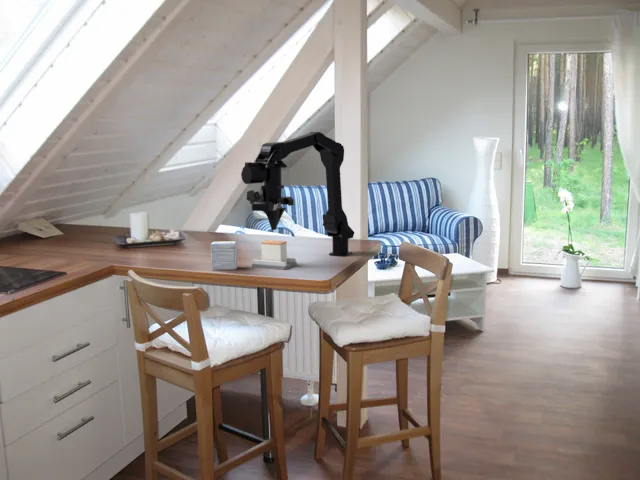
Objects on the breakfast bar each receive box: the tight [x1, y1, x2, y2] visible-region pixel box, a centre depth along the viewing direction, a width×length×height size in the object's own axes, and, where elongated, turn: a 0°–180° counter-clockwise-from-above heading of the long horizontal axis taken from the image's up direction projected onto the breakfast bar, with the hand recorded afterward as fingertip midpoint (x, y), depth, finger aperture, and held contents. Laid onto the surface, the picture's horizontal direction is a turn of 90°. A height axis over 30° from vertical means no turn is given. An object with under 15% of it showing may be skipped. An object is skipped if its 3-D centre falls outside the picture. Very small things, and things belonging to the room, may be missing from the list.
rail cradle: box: [251, 257, 298, 271], centre depth 224 cm, size 9×12×2 cm
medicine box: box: [210, 240, 238, 271], centre depth 220 cm, size 8×4×9 cm, turn 92°
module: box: [260, 239, 288, 262], centre depth 224 cm, size 4×7×7 cm, turn 66°
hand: (273, 229), depth 223 cm, fingers closed
